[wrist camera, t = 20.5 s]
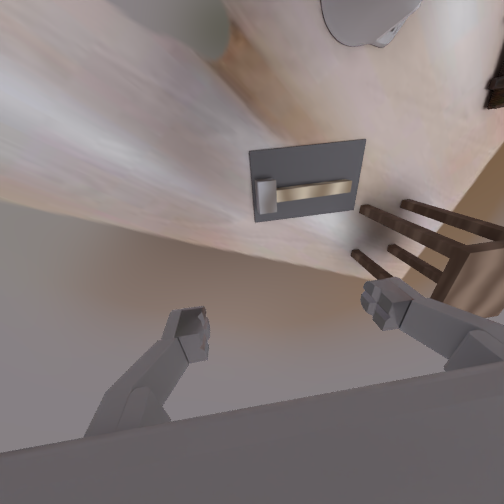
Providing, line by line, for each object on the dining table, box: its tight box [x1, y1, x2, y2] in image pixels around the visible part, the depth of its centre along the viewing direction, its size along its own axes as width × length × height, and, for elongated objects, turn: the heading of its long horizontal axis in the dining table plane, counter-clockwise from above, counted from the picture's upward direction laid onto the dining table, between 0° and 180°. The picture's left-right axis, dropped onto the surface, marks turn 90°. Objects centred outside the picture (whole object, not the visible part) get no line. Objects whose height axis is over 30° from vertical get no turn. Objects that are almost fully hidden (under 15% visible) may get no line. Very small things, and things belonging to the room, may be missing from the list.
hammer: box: [255, 178, 352, 214], centre depth 45 cm, size 22×7×4 cm, turn 95°
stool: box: [351, 199, 504, 318], centre depth 43 cm, size 14×16×26 cm
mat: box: [249, 139, 366, 223], centre depth 45 cm, size 26×16×1 cm, turn 95°
